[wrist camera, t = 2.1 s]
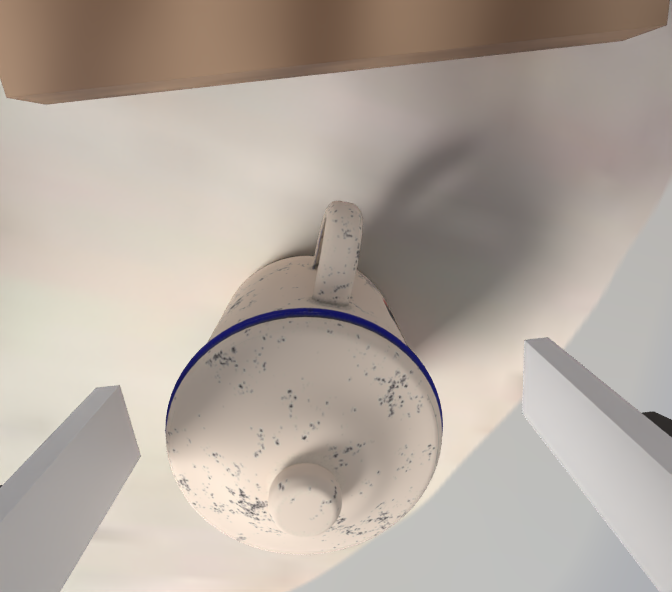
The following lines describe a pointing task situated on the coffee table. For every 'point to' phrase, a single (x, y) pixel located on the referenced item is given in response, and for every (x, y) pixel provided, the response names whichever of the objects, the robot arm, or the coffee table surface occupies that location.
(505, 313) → the coffee table surface
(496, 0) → the walnut stand
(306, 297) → the teacup with lid
